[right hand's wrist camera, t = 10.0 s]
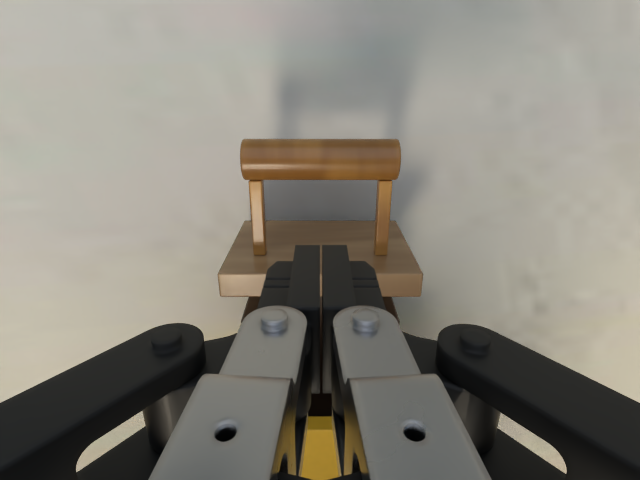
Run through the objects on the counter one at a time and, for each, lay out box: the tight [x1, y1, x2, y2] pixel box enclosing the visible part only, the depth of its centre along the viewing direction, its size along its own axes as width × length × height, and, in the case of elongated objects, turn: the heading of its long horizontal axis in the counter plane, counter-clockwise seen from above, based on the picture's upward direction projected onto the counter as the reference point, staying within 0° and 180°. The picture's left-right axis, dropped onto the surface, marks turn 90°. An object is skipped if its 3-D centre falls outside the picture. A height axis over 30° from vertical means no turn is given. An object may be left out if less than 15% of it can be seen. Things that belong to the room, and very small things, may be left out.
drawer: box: [218, 139, 423, 416], centre depth 23 cm, size 21×9×7 cm, turn 0°
